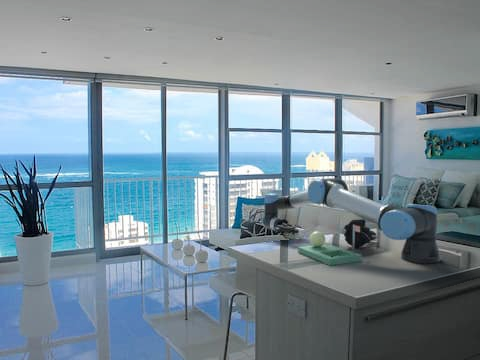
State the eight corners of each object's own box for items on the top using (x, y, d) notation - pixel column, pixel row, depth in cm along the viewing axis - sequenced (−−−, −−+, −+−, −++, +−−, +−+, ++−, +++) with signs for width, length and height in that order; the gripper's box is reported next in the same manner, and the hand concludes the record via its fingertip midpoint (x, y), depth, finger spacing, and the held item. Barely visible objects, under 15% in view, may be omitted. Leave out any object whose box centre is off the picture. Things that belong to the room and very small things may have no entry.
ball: (327, 245, 190) (327, 230, 190) (322, 249, 184) (322, 233, 183) (312, 244, 193) (312, 229, 193) (307, 247, 187) (307, 232, 186)
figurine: (388, 229, 207) (363, 216, 185) (385, 255, 204) (359, 246, 182) (362, 226, 216) (335, 214, 194) (358, 251, 213) (331, 242, 191)
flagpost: (352, 256, 180) (352, 224, 179) (353, 256, 180) (353, 224, 180) (358, 259, 176) (359, 226, 175) (360, 258, 176) (360, 226, 176)
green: (298, 252, 189) (298, 246, 189) (327, 248, 195) (327, 243, 195) (329, 265, 167) (329, 259, 166) (361, 261, 173) (361, 255, 173)
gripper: (290, 230, 224) (314, 239, 202) (268, 232, 218) (291, 241, 197) (290, 217, 223) (315, 224, 201) (268, 218, 218) (291, 226, 196)
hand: (303, 232), depth 199 cm, fingers closed
